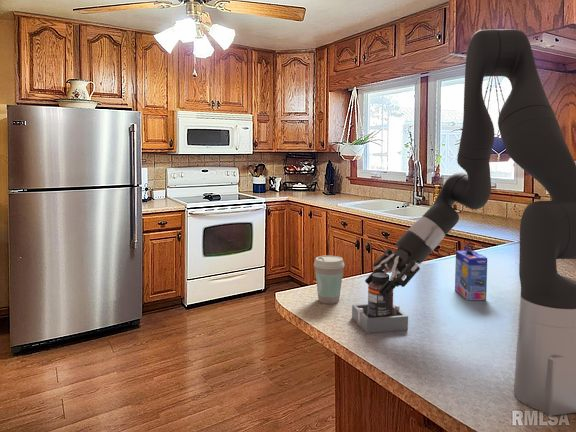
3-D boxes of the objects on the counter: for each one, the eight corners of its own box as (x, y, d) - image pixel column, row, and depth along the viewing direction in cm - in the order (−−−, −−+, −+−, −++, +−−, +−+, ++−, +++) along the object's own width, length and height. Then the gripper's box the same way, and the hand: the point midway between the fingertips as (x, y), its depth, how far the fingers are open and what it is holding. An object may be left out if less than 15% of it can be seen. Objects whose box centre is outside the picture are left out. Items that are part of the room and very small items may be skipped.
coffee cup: (320, 293, 130) (320, 253, 129) (348, 297, 127) (348, 256, 125) (308, 302, 123) (308, 260, 121) (338, 307, 119) (338, 263, 117)
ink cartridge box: (453, 290, 133) (455, 242, 131) (471, 289, 134) (473, 242, 132) (467, 300, 124) (469, 249, 122) (486, 300, 124) (489, 249, 122)
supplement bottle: (384, 314, 111) (385, 270, 110) (397, 323, 106) (399, 276, 104) (362, 317, 109) (364, 272, 108) (375, 326, 104) (376, 278, 102)
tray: (408, 329, 104) (409, 313, 103) (365, 333, 102) (366, 316, 101) (390, 314, 114) (390, 299, 113) (351, 317, 112) (351, 302, 111)
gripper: (397, 224, 113) (353, 271, 112) (425, 234, 99) (375, 288, 98) (416, 244, 115) (373, 290, 114) (446, 256, 101) (397, 309, 100)
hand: (374, 289), depth 106 cm, fingers open, 8 cm apart
